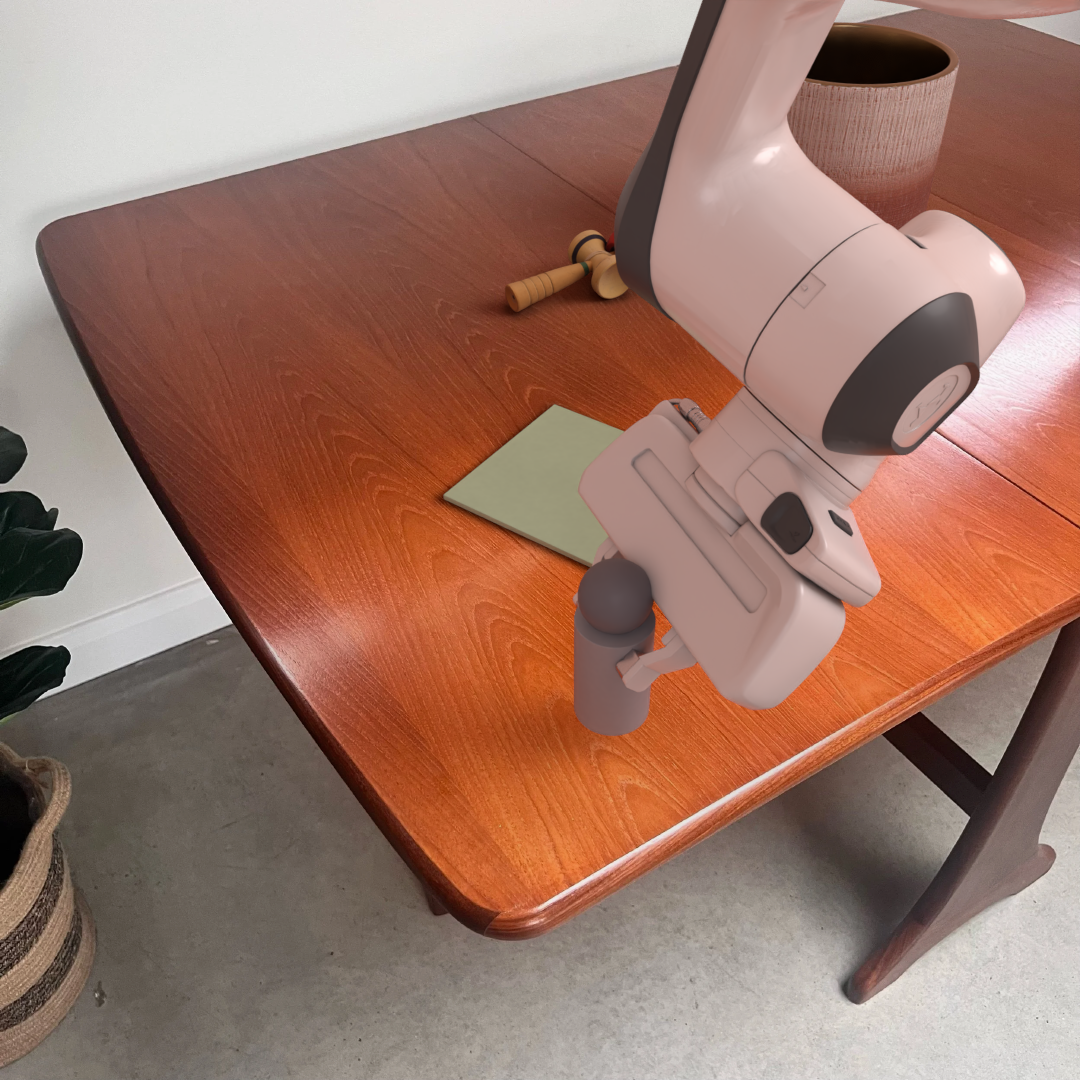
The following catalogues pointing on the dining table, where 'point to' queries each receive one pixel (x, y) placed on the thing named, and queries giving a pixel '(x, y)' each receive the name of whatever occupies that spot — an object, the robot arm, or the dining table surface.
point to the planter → (877, 115)
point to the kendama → (573, 272)
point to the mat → (542, 483)
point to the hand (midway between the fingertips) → (604, 646)
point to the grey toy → (611, 645)
